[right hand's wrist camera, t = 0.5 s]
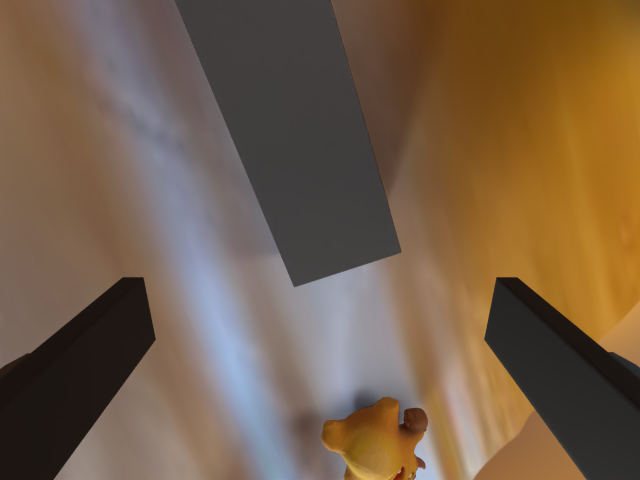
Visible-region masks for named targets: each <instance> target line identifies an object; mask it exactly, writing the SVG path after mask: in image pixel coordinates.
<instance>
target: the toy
mask: <svg viewBox="0 0 640 480" xmlns="http://www.w3.org/2000/svg"><path fill="white" fill-rule="evenodd" d="M398 413H399V402H398V401H397V400H395V399H392V398H388V397H384V398H382V399H381V400H379V401H378V402H377V403H376V404H375V405H374V406H371V407H366V408H362V409H360V410H357V411H355V412H354V413H352V414H351V415H349V416H348V417H347V418H346V419H344V420H327V421H326V422H325V423H324V425H323V432H322V436H321V438H322V443H323V444H324V445H325V447H326V448H327V449H329V450H330V451H333V452H337V453H339V454H340V455H341V456H342V458H343V459H344V461H345V462H346V463H347V469H346V472H345V474H344V480H414V478H415V477H416V471H417V469H418V467H419V468H423V469H425V467H426V466H425V463H424V461H423V460H422V459H420V458H419V457H417V456H416V455H415V454H414V449H415V446H416V445H417V443H418V442H419V441H420V440H421V439H422V438H423V436H424V432H425V431H426V427H427V425H428V419H427V416H426V414H425V412H424V410H422V409H420V408H411V409H406V410H405V412H404V415H405V416H404V423H403V424H401V425H399V419H398Z"/></svg>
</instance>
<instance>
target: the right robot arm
mask: <svg viewBox="0 0 640 480" xmlns="http://www.w3.org/2000/svg"><path fill="white" fill-rule="evenodd" d="M155 340H156V339H155V334H154V329H153V324H152V319H151V313H150V308H149V303H148V298H147V293H146V288H145V283H144V278H143V277H123V278H121V279H120V280H119V281H118V282H117V283H115V284H114V285H113V286H112V287H111V288H109V289H108V290H107V291H106V292H104V293H103V294H102V295H101V296H100V297H98V298H97V299H96V300H95V301H94V302H92V303H91V304H90V305H89V306H88V307H86V308H85V309H84V310H83V311H81V312H80V313H79V314H78V315H77V316H75V317H74V318H73V319H72V320H71V321H69V322H68V323H67V324H66V325H64V326H63V327H62V328H61V329H60V330H58V331H57V332H56V333H55V334H54V335H52V336H51V337H50V338H49V339H48V340H46V341H45V342H44V343H43V344H41V345H40V346H39V347H38V348H37V349H35V350H34V351H33V352H32V353H27V354H25V355H24V356H22V357H20V358H18V359H16V360H14V361H13V362H11V363H9V364H7V365H5V366H4V367H2V368H1V369H0V480H53V479H54V478H55V477H56V475H57V474H58V473H59V471H60V470H61V469H62V467H63V466H64V464H65V463H66V462H67V460H68V459H69V458H70V456H71V455H72V453H73V452H74V451H75V449H76V448H77V447H78V445H79V444H80V443H81V441H82V440H83V438H84V437H85V436H86V434H87V433H88V432H89V430H90V429H91V427H92V426H93V425H94V423H95V422H96V421H97V419H98V418H99V417H100V415H101V414H102V412H103V411H104V410H105V408H106V407H107V406H108V404H109V403H110V401H111V400H112V399H113V397H114V396H115V395H116V393H117V392H118V391H119V389H120V388H121V386H122V385H123V384H124V382H125V381H126V380H127V378H128V377H129V375H130V374H131V373H132V371H133V370H134V369H135V367H136V366H137V364H138V363H139V362H140V360H141V359H142V358H143V356H144V355H145V354H146V352H147V351H148V349H149V348H150V347H151V345H152V344H153V343H154V341H155ZM484 340H485V341H486V343H487V344H488V345H489V347H490V348H491V349H492V351H493V352H494V354H495V355H496V356H497V358H498V359H499V360H500V362H501V363H502V364H503V366H504V367H505V369H506V370H507V371H508V373H509V374H510V375H511V377H512V378H513V380H514V381H515V382H516V384H517V385H518V386H519V388H520V389H521V391H522V392H523V393H524V395H525V396H526V397H527V399H528V400H529V401H530V403H531V404H532V406H533V407H534V408H535V410H536V411H537V412H538V414H539V415H540V417H541V418H542V419H543V421H544V422H545V423H546V425H547V426H548V427H549V429H550V430H551V431H552V433H553V434H554V436H555V437H556V438H557V440H558V441H559V443H560V444H561V445H562V447H563V448H564V449H565V451H566V452H567V453H568V455H569V456H570V457H571V459H572V460H573V462H574V463H575V464H576V466H577V467H578V469H579V470H580V471H581V473H582V474H583V475H584V477H585V478H586V479H587V480H640V367H638V366H637V365H636V364H634V363H632V362H630V361H628V360H627V359H625V358H623V357H621V356H619V355H617V354H615V353H614V352H607V351H606V350H605V349H603V348H602V347H601V346H600V345H599V344H597V343H596V342H595V341H594V340H592V339H591V338H590V337H589V336H588V335H586V334H585V333H584V332H583V331H582V330H580V329H579V328H578V327H577V326H576V325H574V324H573V323H572V322H571V321H569V320H568V319H567V318H566V317H565V316H563V315H562V314H561V313H560V312H559V311H557V310H556V309H555V308H554V307H552V306H551V305H550V304H549V303H548V302H546V301H545V300H544V299H543V298H542V297H540V296H539V295H538V294H537V293H536V292H534V291H533V290H532V289H531V288H529V287H528V286H527V285H526V284H525V283H523V282H522V281H521V280H520V279H519V278H517V277H497V278H496V283H495V288H494V293H493V298H492V303H491V308H490V313H489V319H488V324H487V329H486V334H485V339H484Z"/></svg>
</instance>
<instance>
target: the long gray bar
mask: <svg viewBox="0 0 640 480" xmlns="http://www.w3.org/2000/svg"><path fill="white" fill-rule="evenodd" d="M175 2H176V4H177V7H178V9H179V12H180V14H181V16H182V19H183V21H184V24H185V26H186V28H187V31H188V33H189V36H190V38H191V40H192V43H193V45H194V48H195V50H196V52H197V55H198V57H199V60H200V62H201V65H202V67H203V69H204V72H205V74H206V77H207V79H208V81H209V84H210V86H211V89H212V91H213V93H214V96H215V98H216V101H217V103H218V105H219V108H220V110H221V113H222V115H223V117H224V120H225V122H226V125H227V127H228V129H229V132H230V134H231V137H232V139H233V141H234V144H235V146H236V149H237V151H238V153H239V156H240V158H241V161H242V163H243V165H244V168H245V170H246V173H247V175H248V177H249V180H250V182H251V185H252V187H253V190H254V192H255V194H256V197H257V199H258V202H259V204H260V206H261V209H262V211H263V214H264V216H265V218H266V221H267V223H268V226H269V228H270V230H271V233H272V235H273V238H274V240H275V242H276V245H277V247H278V250H279V252H280V254H281V257H282V259H283V262H284V264H285V266H286V269H287V271H288V274H289V276H290V278H291V281H292V283H293V286H294V287H297V286H300V285H303V284H306V283H309V282H312V281H315V280H319V279H322V278H325V277H328V276H331V275H334V274H337V273H340V272H343V271H346V270H349V269H352V268H356V267H359V266H362V265H365V264H368V263H371V262H374V261H377V260H380V259H383V258H386V257H390V256H393V255H396V254H399V253H401V248H400V245H399V241H398V238H397V234H396V231H395V227H394V223H393V220H392V216H391V213H390V209H389V206H388V202H387V199H386V195H385V192H384V188H383V185H382V181H381V177H380V174H379V170H378V167H377V163H376V160H375V156H374V153H373V149H372V146H371V142H370V138H369V135H368V131H367V128H366V124H365V121H364V117H363V114H362V110H361V107H360V103H359V100H358V96H357V92H356V89H355V85H354V82H353V78H352V75H351V71H350V68H349V64H348V61H347V57H346V53H345V50H344V46H343V43H342V39H341V36H340V32H339V29H338V25H337V22H336V18H335V15H334V11H333V7H332V4H331V0H175Z"/></svg>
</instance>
